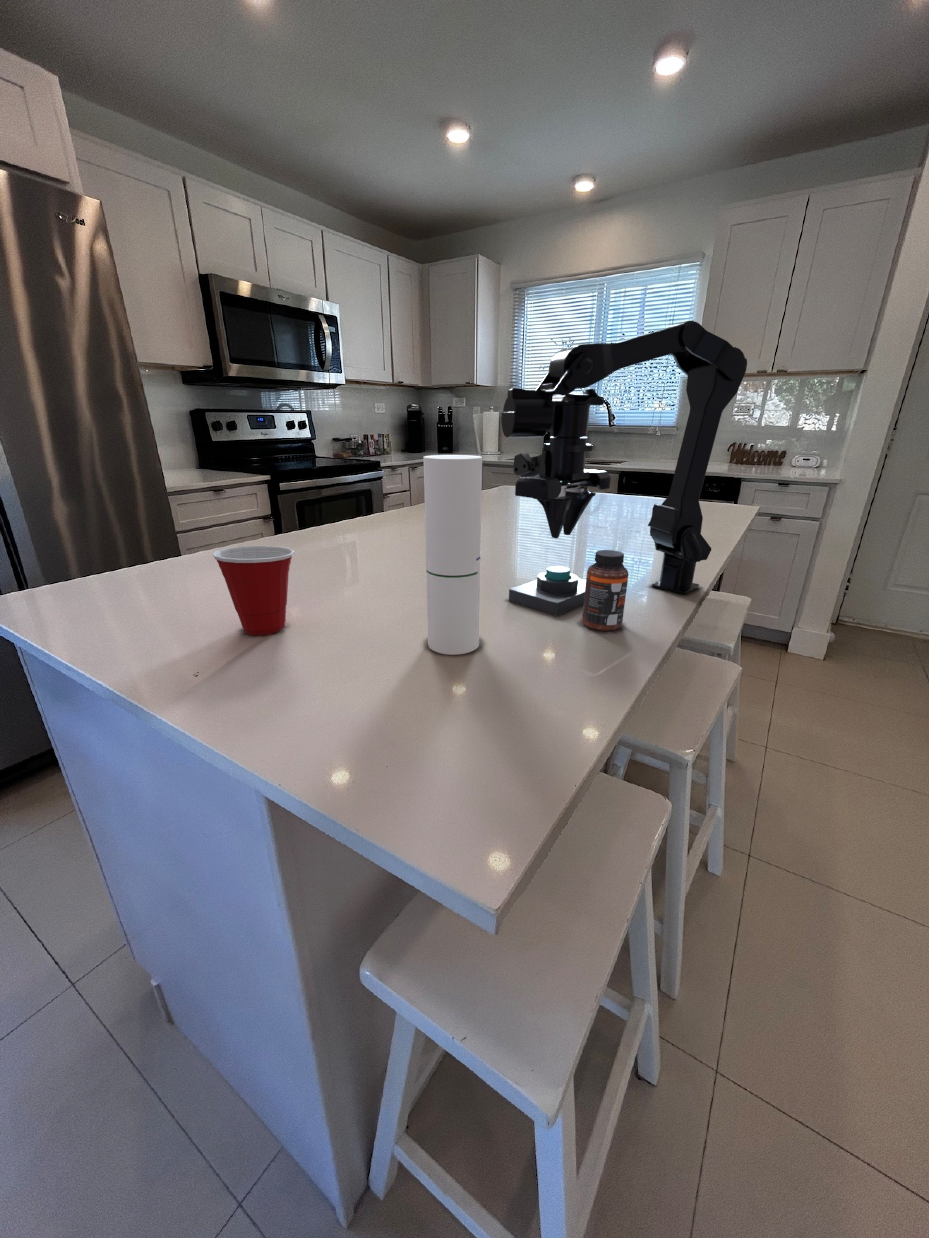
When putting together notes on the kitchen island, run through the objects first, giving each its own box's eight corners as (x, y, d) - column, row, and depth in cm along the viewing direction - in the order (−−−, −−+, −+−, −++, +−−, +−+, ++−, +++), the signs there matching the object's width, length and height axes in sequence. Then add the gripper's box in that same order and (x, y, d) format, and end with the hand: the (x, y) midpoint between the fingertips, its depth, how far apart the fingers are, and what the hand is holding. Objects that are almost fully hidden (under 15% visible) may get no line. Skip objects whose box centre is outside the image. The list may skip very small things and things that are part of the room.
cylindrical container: (485, 637, 73) (489, 455, 64) (469, 657, 67) (471, 459, 58) (439, 630, 75) (436, 454, 66) (419, 650, 69) (413, 458, 60)
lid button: (554, 574, 90) (555, 564, 90) (574, 578, 88) (574, 569, 87) (541, 578, 88) (541, 569, 87) (560, 583, 85) (561, 573, 84)
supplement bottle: (623, 634, 74) (633, 559, 70) (581, 630, 76) (589, 556, 71) (620, 619, 80) (629, 548, 76) (581, 616, 81) (588, 546, 77)
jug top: (555, 583, 97) (557, 563, 95) (602, 595, 90) (604, 574, 89) (508, 601, 88) (509, 578, 86) (556, 616, 81) (558, 592, 80)
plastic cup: (318, 621, 79) (310, 545, 74) (266, 647, 70) (253, 563, 65) (265, 610, 83) (254, 537, 78) (209, 634, 74) (193, 553, 69)
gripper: (560, 434, 90) (554, 522, 96) (489, 437, 78) (487, 537, 84) (616, 436, 83) (606, 531, 89) (548, 439, 71) (542, 549, 77)
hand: (561, 536), depth 85 cm, fingers open, 3 cm apart
